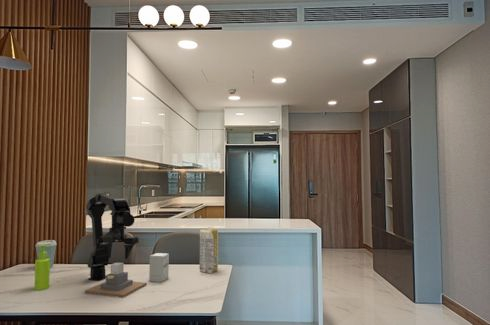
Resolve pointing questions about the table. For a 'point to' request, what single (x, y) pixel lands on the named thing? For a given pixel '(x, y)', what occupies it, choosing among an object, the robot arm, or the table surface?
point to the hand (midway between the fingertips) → (117, 258)
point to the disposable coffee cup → (48, 250)
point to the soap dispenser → (42, 269)
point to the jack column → (117, 268)
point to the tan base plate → (116, 286)
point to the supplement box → (159, 267)
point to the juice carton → (208, 250)
